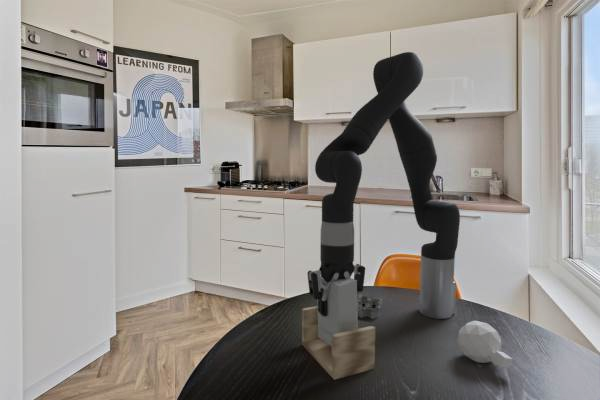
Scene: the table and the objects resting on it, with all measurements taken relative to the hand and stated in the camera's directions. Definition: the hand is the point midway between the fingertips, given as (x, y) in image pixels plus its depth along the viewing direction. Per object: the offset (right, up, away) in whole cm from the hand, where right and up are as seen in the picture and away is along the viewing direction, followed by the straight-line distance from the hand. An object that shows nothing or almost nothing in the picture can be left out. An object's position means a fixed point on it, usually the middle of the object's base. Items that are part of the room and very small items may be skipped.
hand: (336, 312), depth 84 cm
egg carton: (+12, -8, +26) cm, 30 cm away
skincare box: (0, -7, +1) cm, 7 cm away
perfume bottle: (+32, -11, -2) cm, 34 cm away
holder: (0, -10, +1) cm, 10 cm away
